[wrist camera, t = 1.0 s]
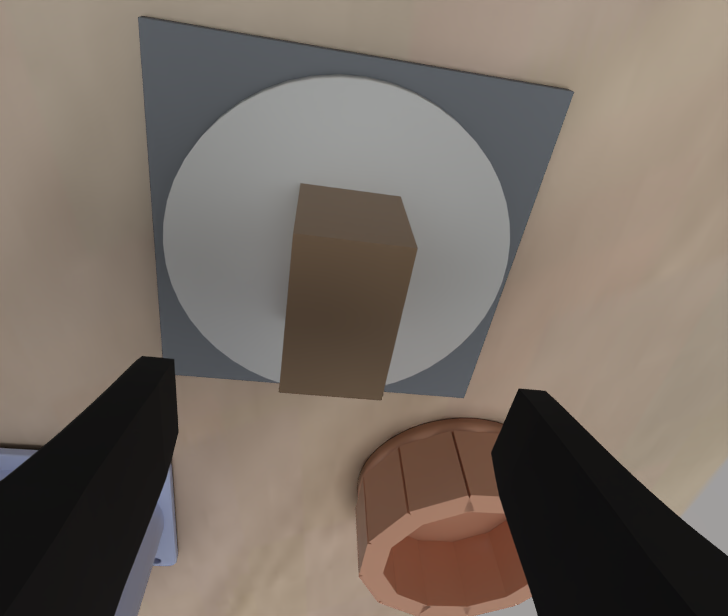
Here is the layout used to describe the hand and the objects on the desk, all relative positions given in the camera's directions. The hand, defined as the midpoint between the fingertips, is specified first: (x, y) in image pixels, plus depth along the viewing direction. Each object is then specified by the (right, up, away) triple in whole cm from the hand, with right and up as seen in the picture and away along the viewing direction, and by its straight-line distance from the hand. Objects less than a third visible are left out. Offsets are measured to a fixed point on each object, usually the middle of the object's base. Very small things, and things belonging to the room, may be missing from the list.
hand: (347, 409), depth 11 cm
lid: (0, +4, +6) cm, 7 cm away
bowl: (+4, -6, +14) cm, 16 cm away
